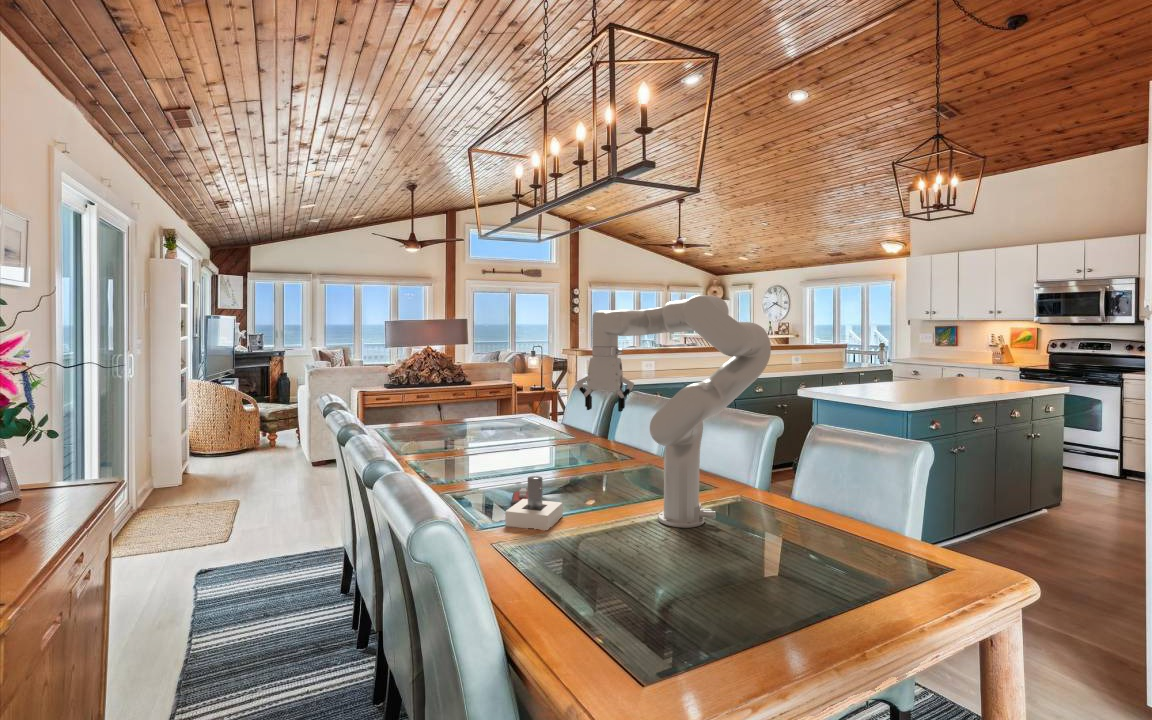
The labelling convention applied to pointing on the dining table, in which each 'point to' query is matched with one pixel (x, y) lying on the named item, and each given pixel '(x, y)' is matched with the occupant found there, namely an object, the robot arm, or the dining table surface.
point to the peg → (535, 493)
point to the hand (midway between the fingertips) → (604, 410)
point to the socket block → (533, 515)
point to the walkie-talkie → (519, 496)
